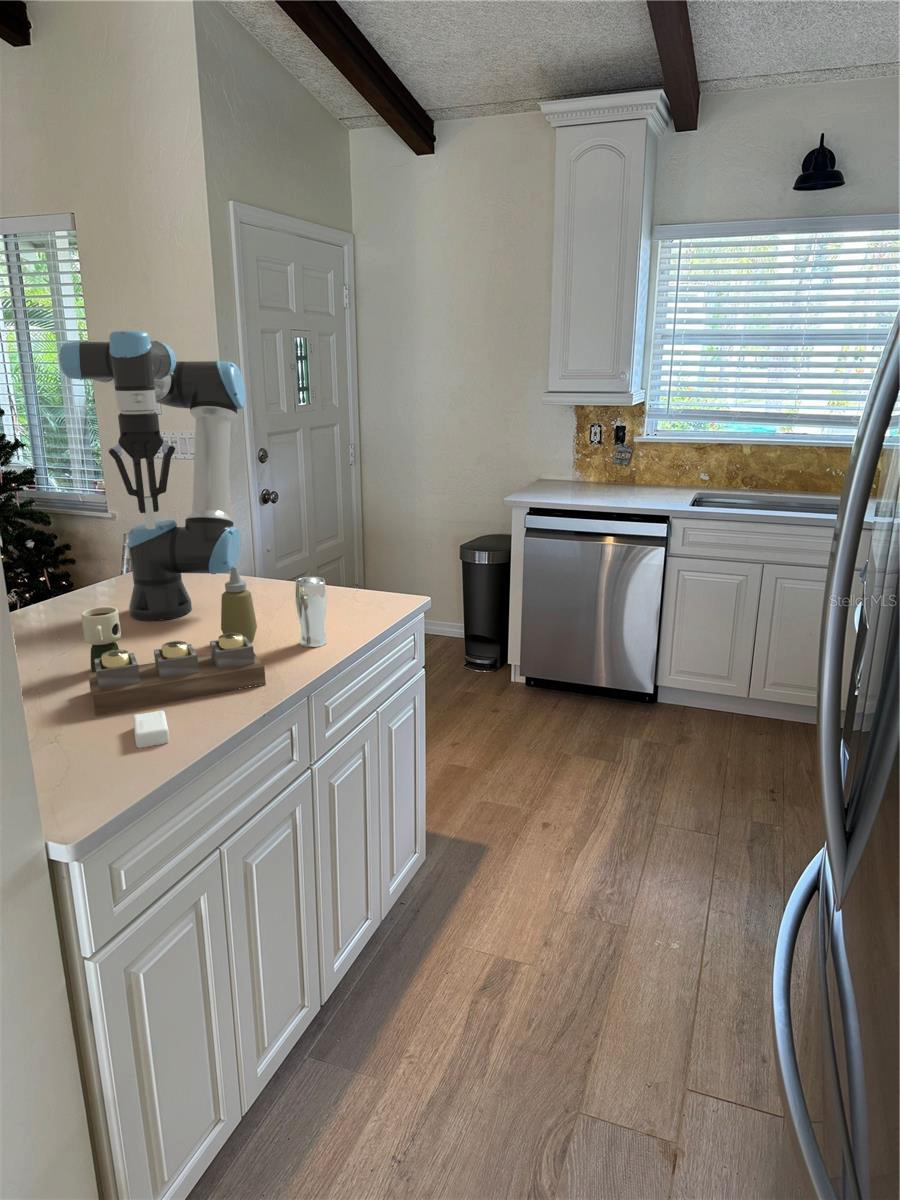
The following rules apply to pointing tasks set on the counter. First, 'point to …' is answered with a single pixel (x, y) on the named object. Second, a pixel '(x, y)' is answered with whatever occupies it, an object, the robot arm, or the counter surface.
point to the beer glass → (311, 610)
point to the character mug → (101, 630)
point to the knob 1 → (115, 658)
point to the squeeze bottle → (237, 608)
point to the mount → (174, 677)
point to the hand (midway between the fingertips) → (150, 527)
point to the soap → (150, 729)
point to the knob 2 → (230, 641)
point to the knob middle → (174, 649)
